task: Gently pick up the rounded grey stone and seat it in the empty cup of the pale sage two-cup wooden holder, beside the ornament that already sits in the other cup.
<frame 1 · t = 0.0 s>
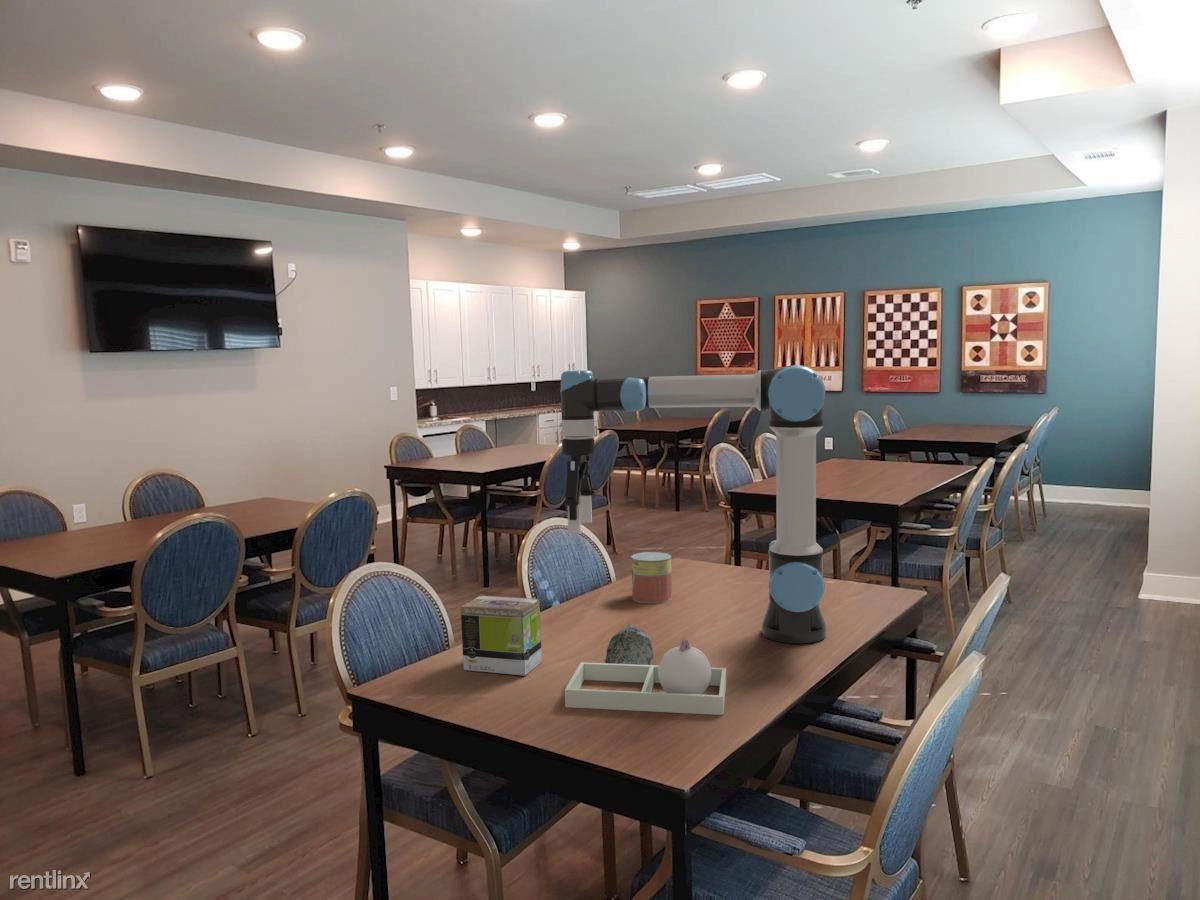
hand: (580, 528, 205), 28 cm above the table, fingers open, 13 cm apart
holder: (648, 695, 175), on the table
ornament: (685, 698, 174), resting in holder
stone: (630, 666, 193), on the table
tea box: (502, 667, 194), on the table
canned food: (652, 598, 247), on the table
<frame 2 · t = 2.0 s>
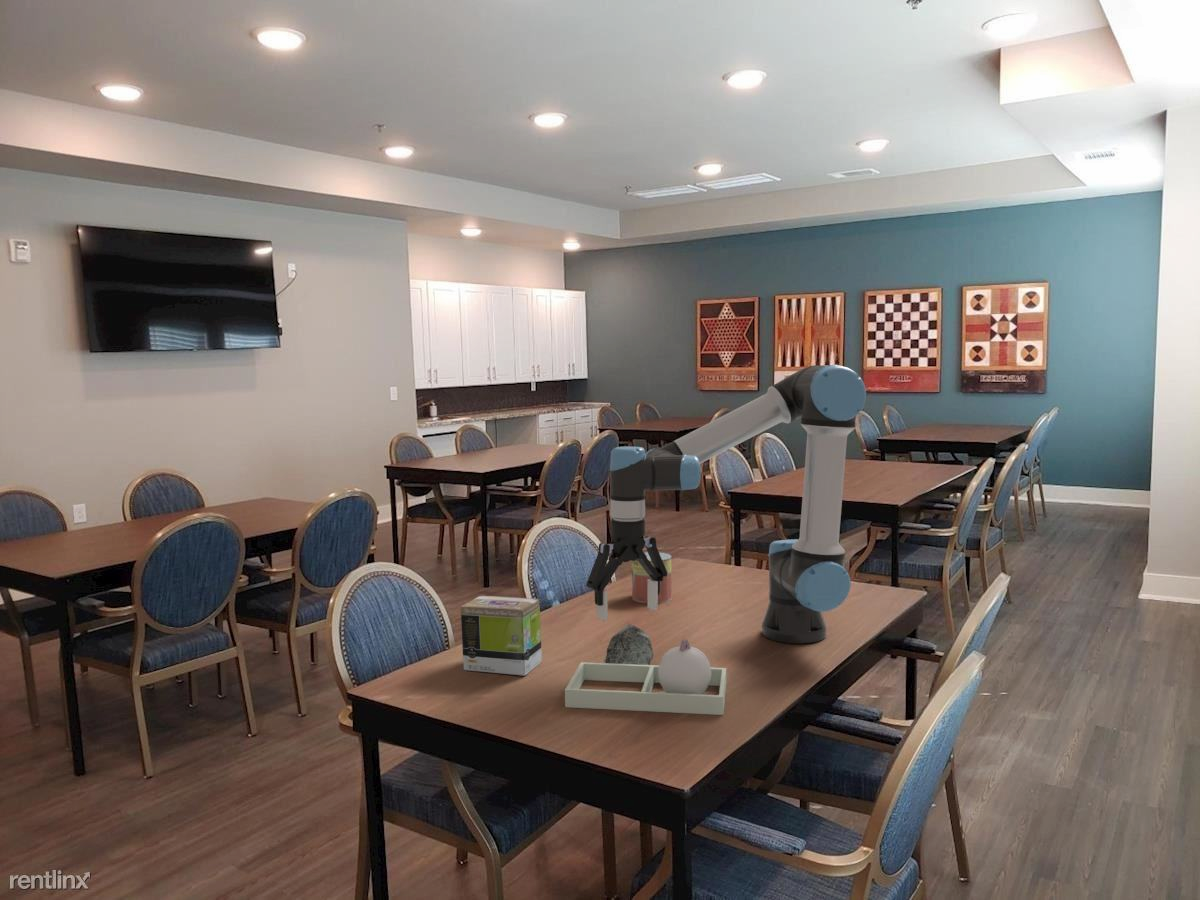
hand: (628, 614, 192), 11 cm above the table, fingers open, 13 cm apart
nothing on the table moved.
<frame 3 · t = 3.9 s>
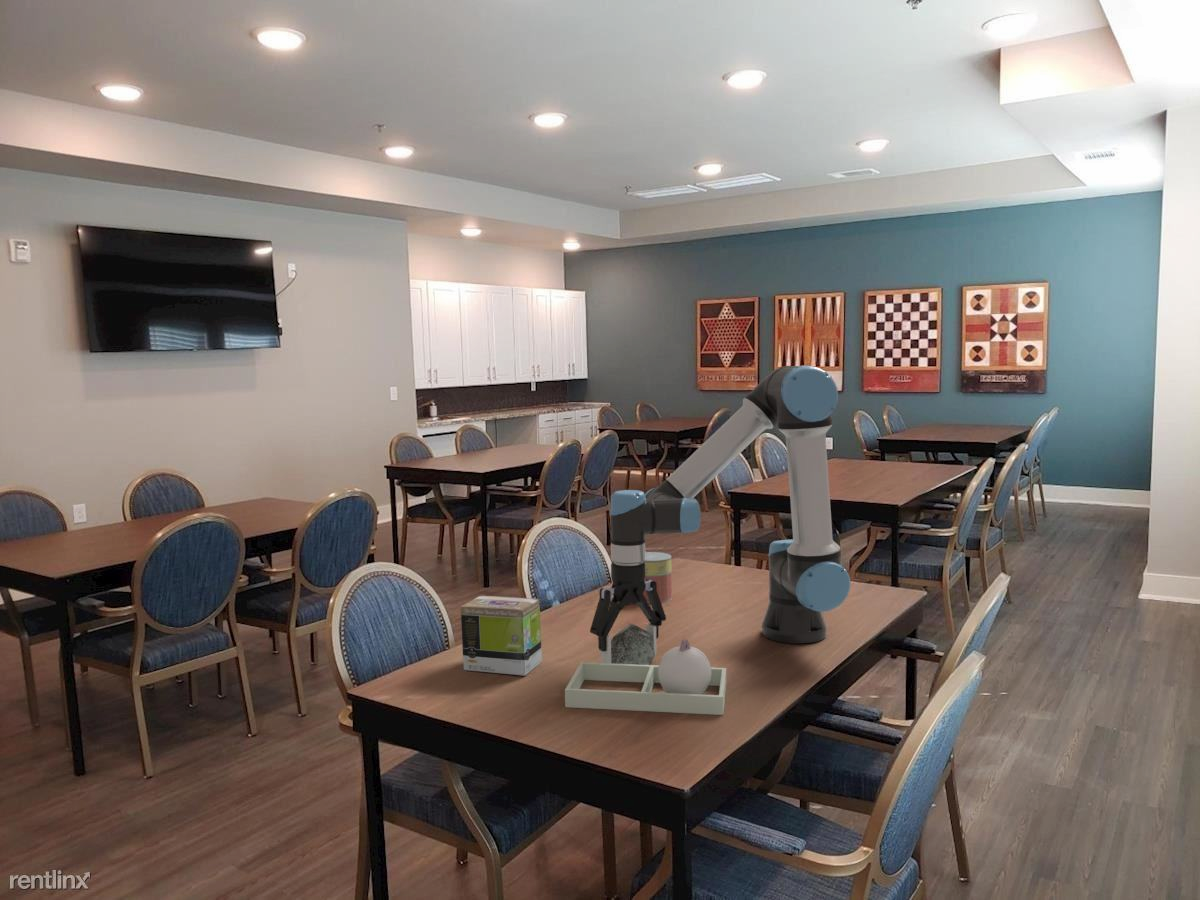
hand: (629, 659, 193), 1 cm above the table, fingers closed on stone, 12 cm apart
stone: (632, 665, 193), on the table, touching gripper
everything else where it was.
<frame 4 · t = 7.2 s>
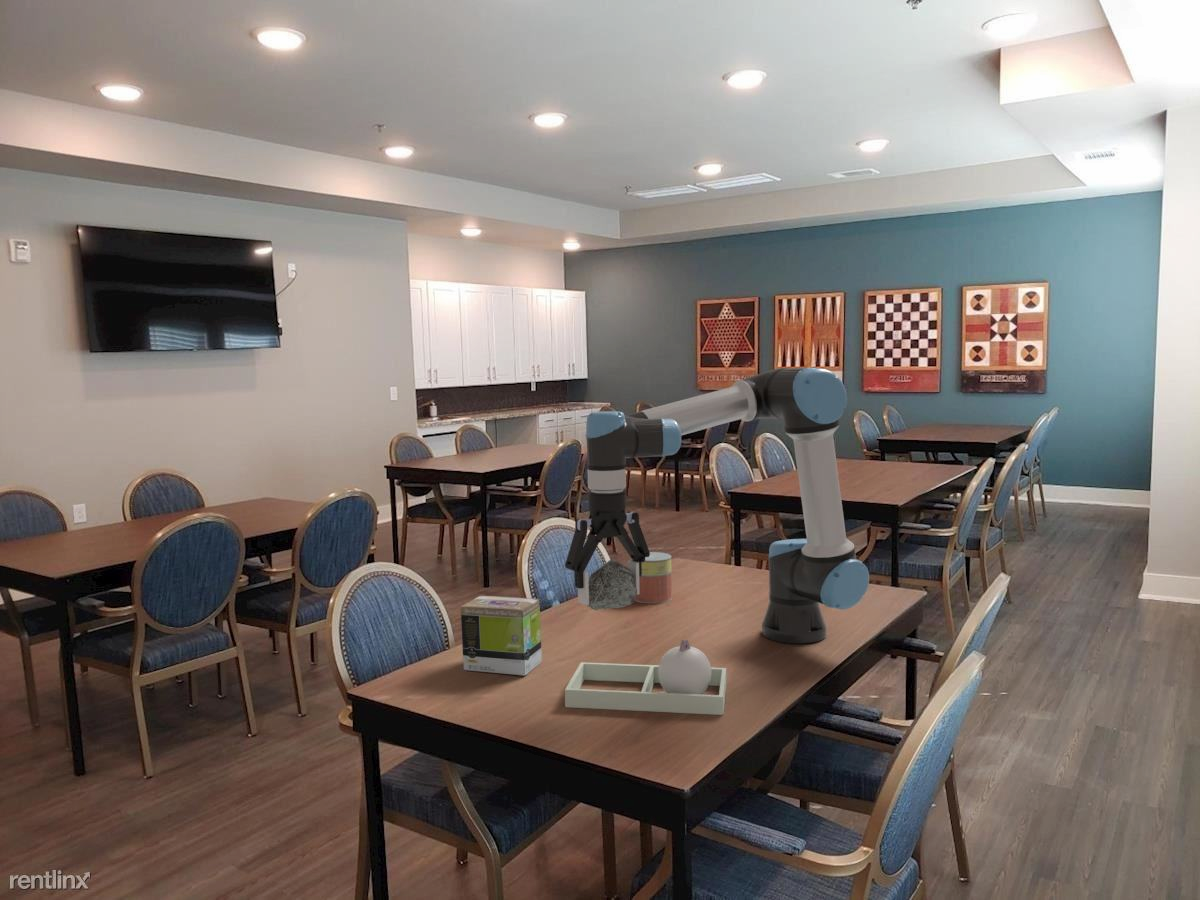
hand: (609, 598, 175), 20 cm above the table, fingers closed on stone, 12 cm apart
stone: (612, 605, 175), point 18 cm above the table, touching gripper
everything else where it was.
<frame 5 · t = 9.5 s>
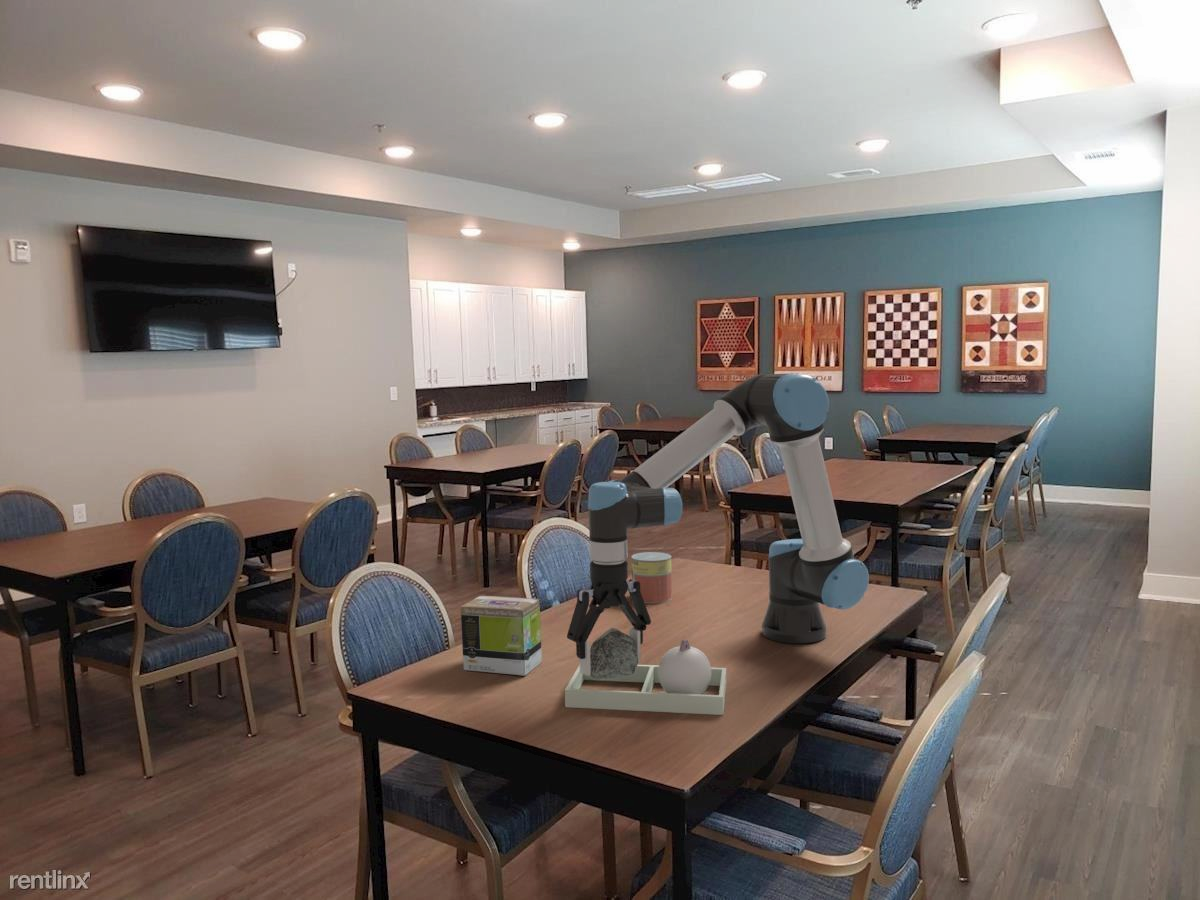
hand: (610, 666, 176), 6 cm above the table, fingers closed on stone, 12 cm apart
stone: (613, 674, 176), point 4 cm above the table, touching gripper
everything else where it was.
when the fingers open (4 cm above the table, at t = 11.0 s): stone drops 3 cm, resting in holder.
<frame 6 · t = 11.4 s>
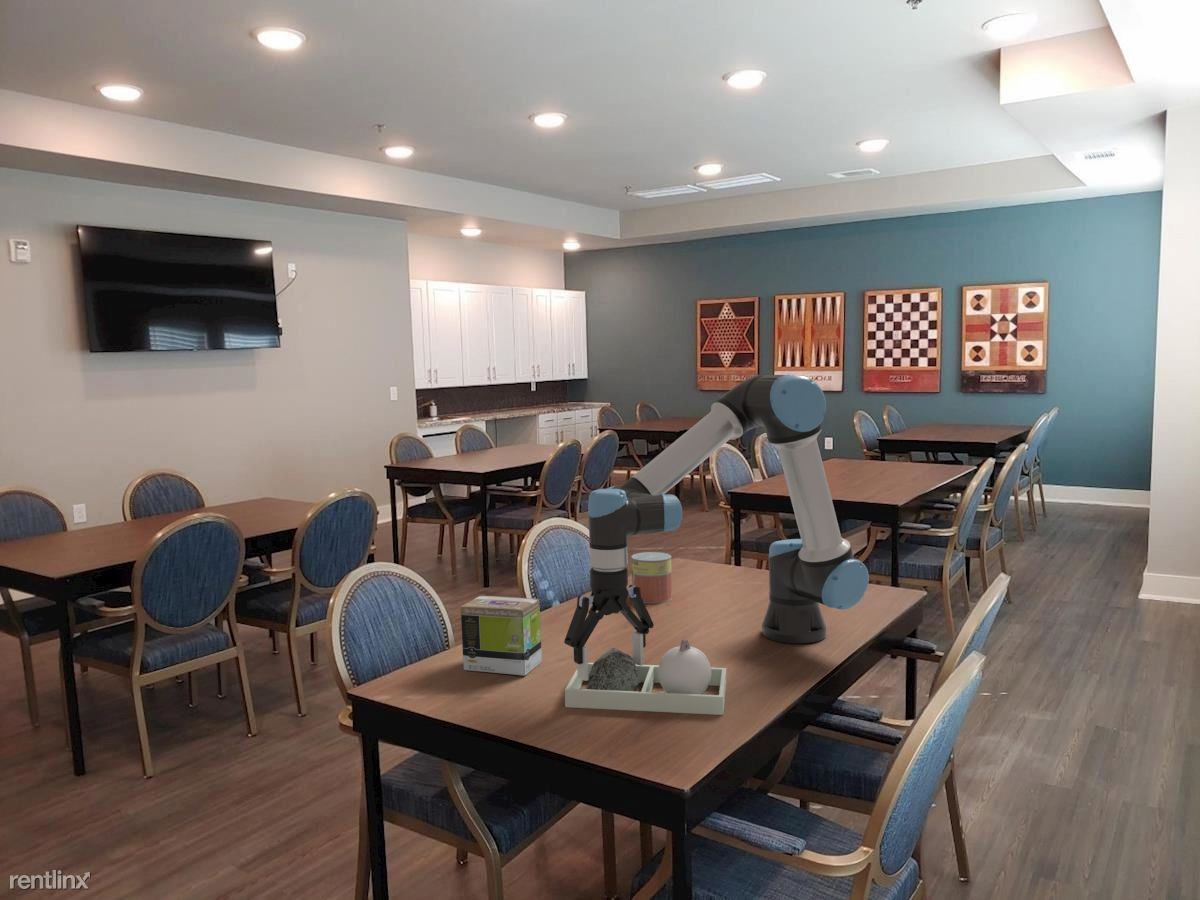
hand: (611, 671, 176), 5 cm above the table, fingers open, 13 cm apart
stone: (614, 694, 177), resting in holder
everything else where it was.
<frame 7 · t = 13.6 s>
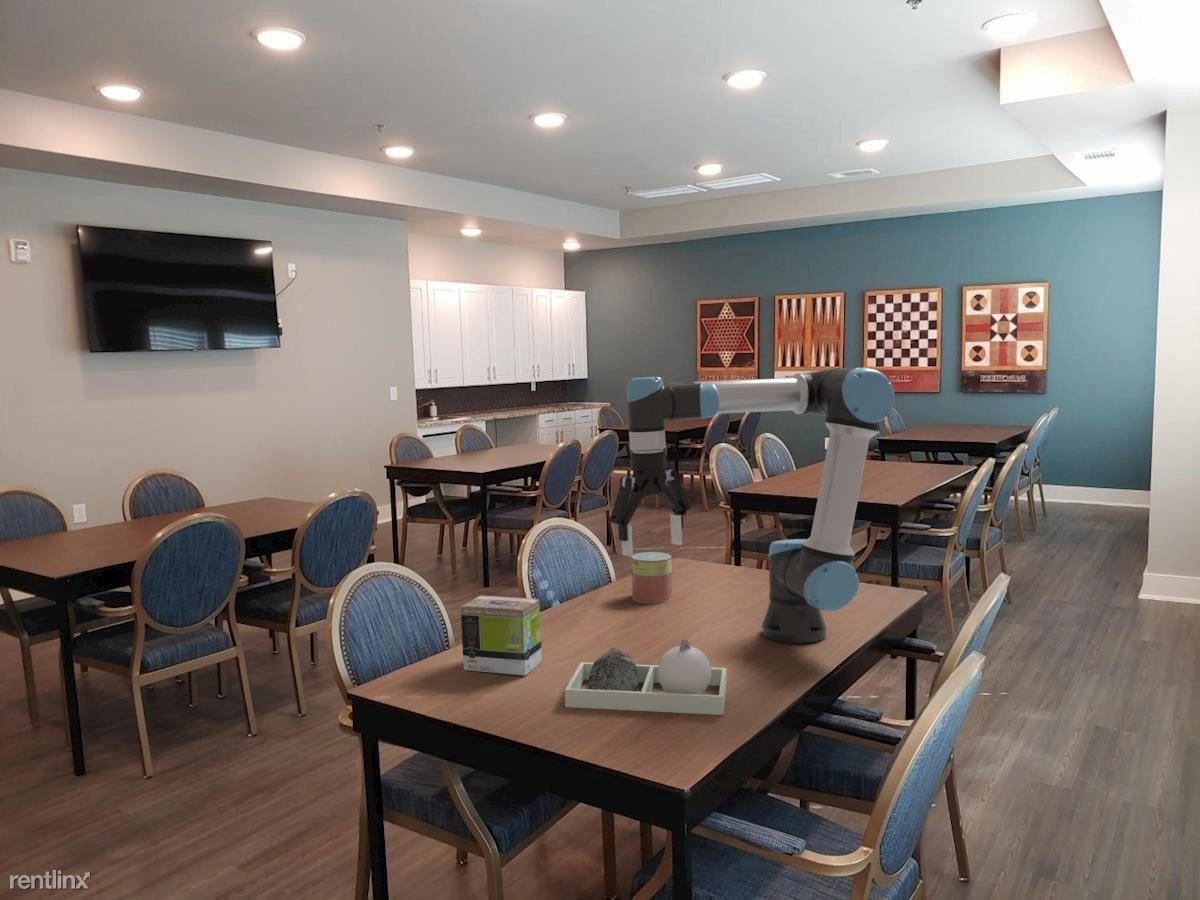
hand: (652, 549, 187), 26 cm above the table, fingers open, 13 cm apart
nothing on the table moved.
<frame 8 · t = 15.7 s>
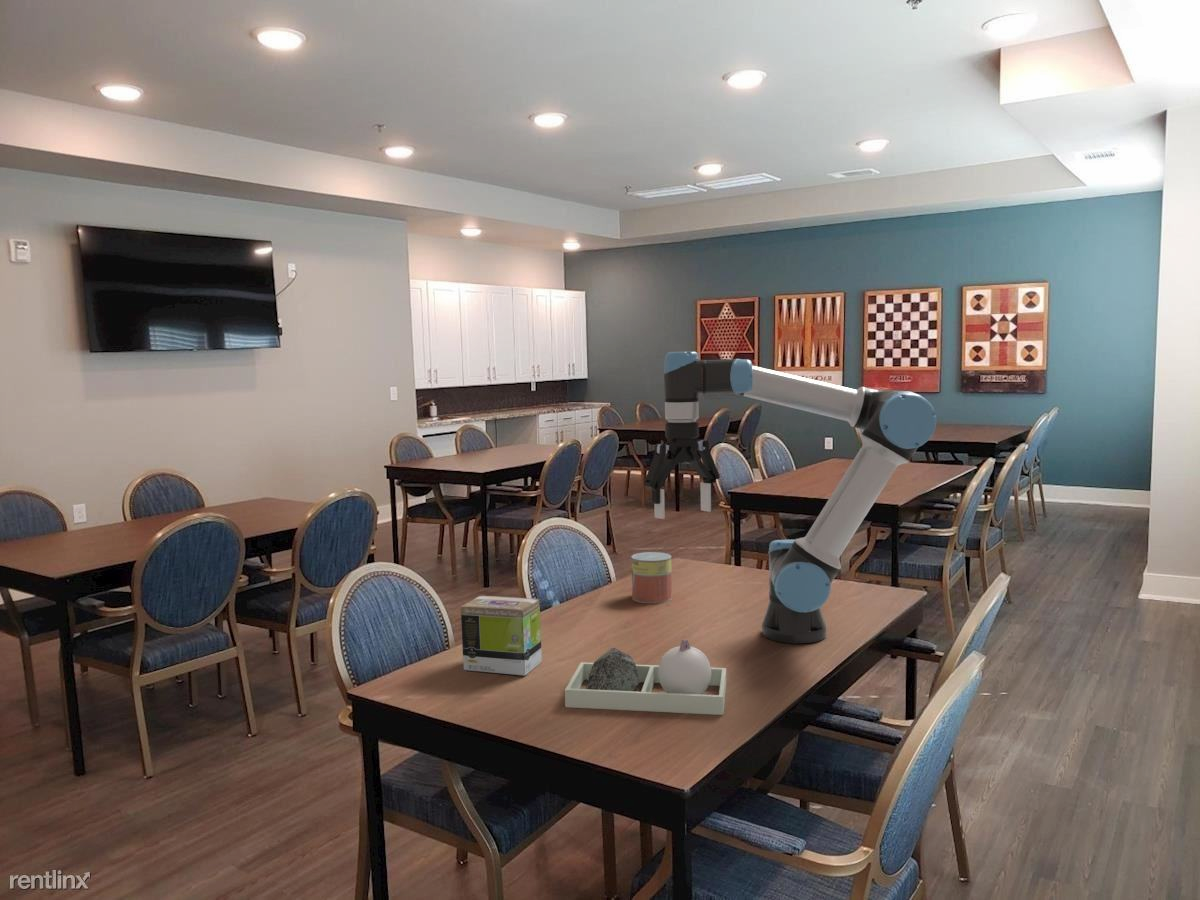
hand: (683, 514, 198), 32 cm above the table, fingers open, 13 cm apart
nothing on the table moved.
at the end: stone inside the target area on the holder (0.9 cm from its centre), point 0.0 cm above the holder's base; the gripper is holding nothing; ornament moved 0.2 cm from its start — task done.
